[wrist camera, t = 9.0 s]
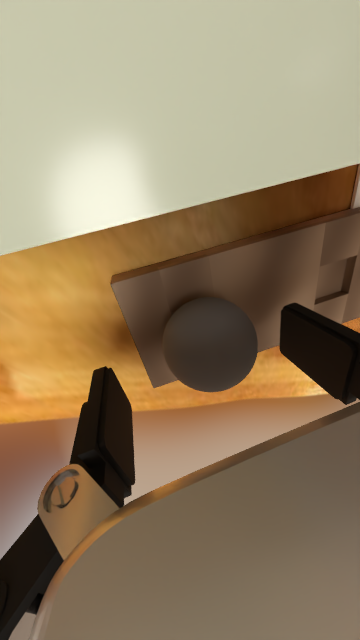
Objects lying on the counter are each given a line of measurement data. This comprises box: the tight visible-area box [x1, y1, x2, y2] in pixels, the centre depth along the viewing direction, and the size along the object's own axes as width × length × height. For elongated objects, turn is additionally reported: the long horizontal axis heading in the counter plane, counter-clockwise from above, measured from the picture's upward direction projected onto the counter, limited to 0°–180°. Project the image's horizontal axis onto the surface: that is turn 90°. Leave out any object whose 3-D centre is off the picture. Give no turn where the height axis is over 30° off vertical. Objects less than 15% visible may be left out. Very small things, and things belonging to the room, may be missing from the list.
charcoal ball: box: [162, 297, 258, 392], centre depth 11 cm, size 5×5×5 cm
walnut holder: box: [111, 207, 360, 388], centre depth 14 cm, size 18×8×2 cm, turn 102°
